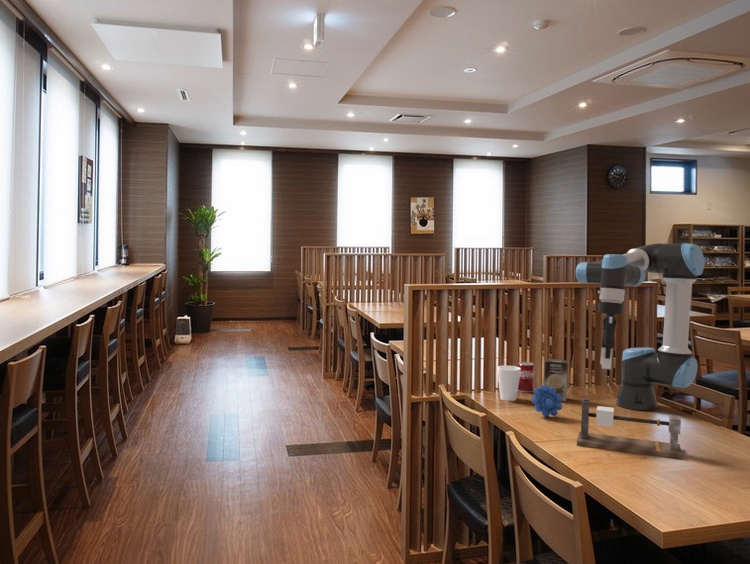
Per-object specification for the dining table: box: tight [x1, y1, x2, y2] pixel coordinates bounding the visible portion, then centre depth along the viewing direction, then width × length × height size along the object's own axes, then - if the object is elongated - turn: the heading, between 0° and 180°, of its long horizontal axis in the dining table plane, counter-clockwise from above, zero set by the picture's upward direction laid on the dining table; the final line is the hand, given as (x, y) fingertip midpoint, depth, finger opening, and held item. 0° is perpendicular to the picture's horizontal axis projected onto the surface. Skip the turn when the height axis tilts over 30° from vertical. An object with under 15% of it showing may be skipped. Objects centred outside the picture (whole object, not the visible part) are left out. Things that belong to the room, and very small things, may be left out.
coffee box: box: [543, 358, 569, 402], centre depth 249 cm, size 9×6×16 cm
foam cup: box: [496, 365, 521, 402], centre depth 248 cm, size 10×9×13 cm
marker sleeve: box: [595, 405, 615, 428], centre depth 193 cm, size 5×5×5 cm
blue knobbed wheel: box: [530, 384, 563, 418], centre depth 222 cm, size 12×7×12 cm, turn 91°
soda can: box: [516, 361, 535, 393], centre depth 262 cm, size 7×7×12 cm
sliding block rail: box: [576, 398, 683, 460], centre depth 190 cm, size 30×10×14 cm, turn 67°
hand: (605, 366), depth 196 cm, fingers open, 13 cm apart
